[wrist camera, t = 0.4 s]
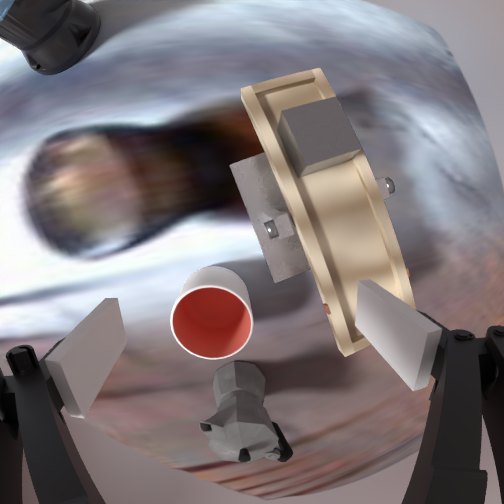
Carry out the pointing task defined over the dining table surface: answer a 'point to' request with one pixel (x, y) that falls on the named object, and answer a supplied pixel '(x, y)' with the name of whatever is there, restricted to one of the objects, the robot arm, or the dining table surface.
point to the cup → (212, 314)
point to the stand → (276, 216)
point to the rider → (317, 136)
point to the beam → (331, 210)
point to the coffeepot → (243, 417)
